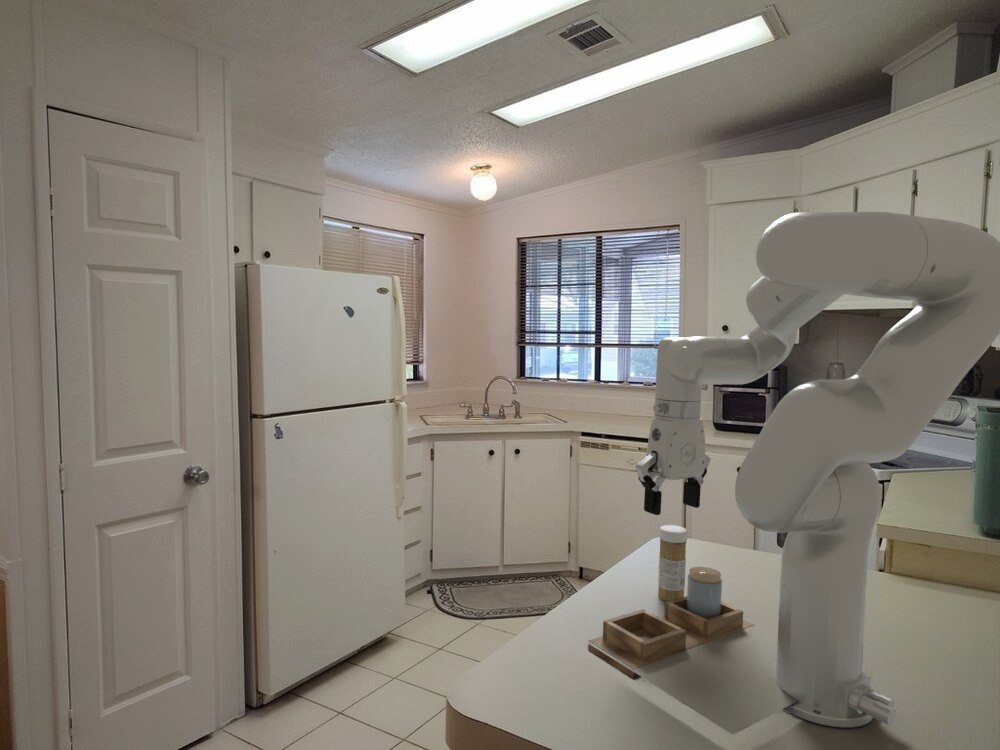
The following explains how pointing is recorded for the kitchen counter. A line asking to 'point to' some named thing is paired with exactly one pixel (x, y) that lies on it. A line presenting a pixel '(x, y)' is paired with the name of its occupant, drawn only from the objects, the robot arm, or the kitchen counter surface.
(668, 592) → the sprinkles bottle
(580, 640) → the kitchen counter surface
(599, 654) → the spice rail
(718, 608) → the spice pot
